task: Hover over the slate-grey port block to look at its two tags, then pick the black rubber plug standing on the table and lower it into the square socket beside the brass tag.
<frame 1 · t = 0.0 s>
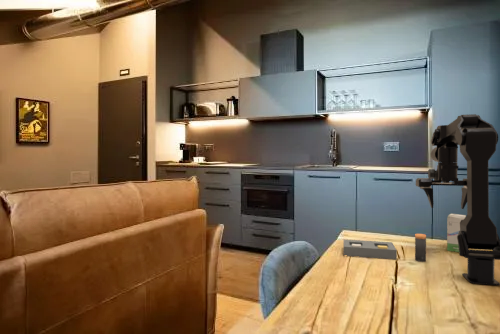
hand: (447, 208, 113), 15 cm above the table, fingers open, 9 cm apart
port block: (368, 253, 111), on the table
ink box: (456, 249, 116), on the table
plug: (420, 260, 103), on the table
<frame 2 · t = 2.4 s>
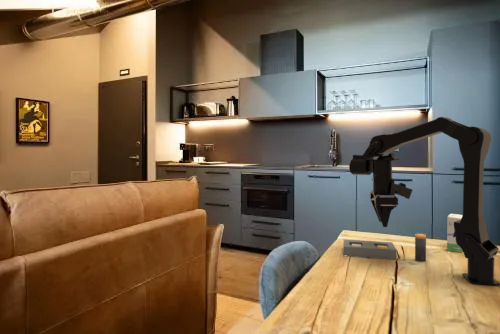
hand: (383, 224, 106), 11 cm above the table, fingers open, 9 cm apart
nothing on the table moved.
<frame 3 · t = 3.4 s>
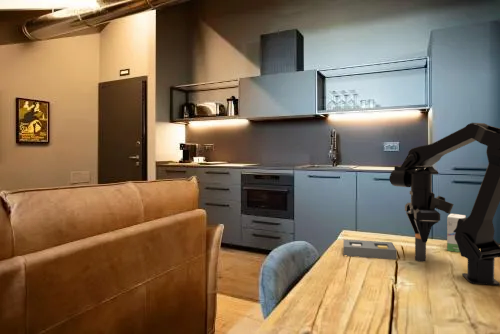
hand: (420, 238, 103), 7 cm above the table, fingers open, 9 cm apart
nothing on the table moved.
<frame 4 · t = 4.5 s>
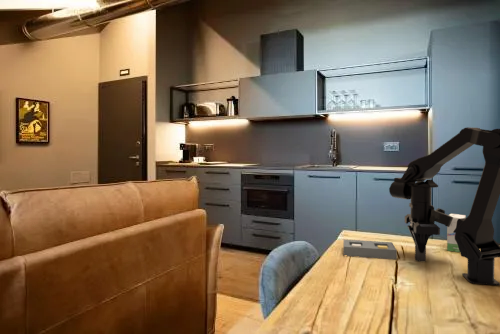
hand: (420, 251, 103), 3 cm above the table, fingers closed on plug, 3 cm apart
plug: (420, 260, 103), on the table, touching gripper
everything else where it was.
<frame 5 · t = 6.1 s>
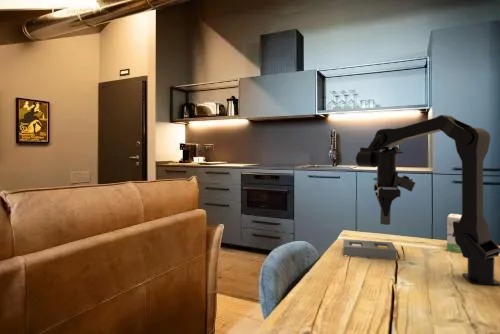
hand: (385, 215, 109), 13 cm above the table, fingers closed on plug, 3 cm apart
plug: (385, 223, 110), point 10 cm above the table, touching gripper
everything else where it was.
when the fingers open (5 cm above the table, at t = 7.7 s): plug drops 1 cm, resting on port block.
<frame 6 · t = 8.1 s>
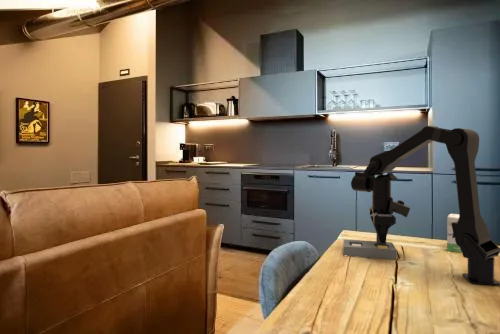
hand: (381, 240, 110), 5 cm above the table, fingers open, 7 cm apart
plug: (381, 252, 110), point 1 cm above the table, touching port block
everything else where it was.
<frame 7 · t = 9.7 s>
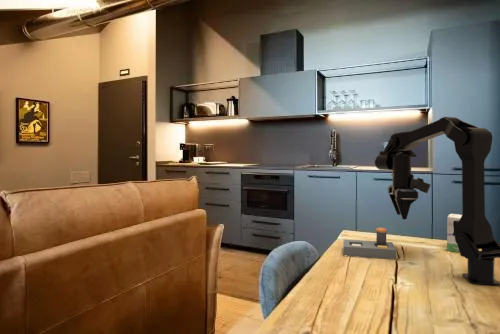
hand: (401, 216, 112), 12 cm above the table, fingers open, 9 cm apart
nothing on the table moved.
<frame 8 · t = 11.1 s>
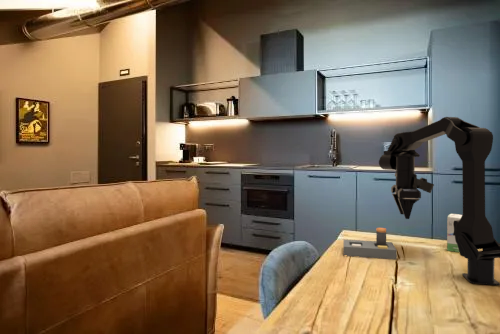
hand: (404, 216, 113), 12 cm above the table, fingers open, 9 cm apart
nothing on the table moved.
at the end: plug 0.0 cm from the target spot on the port block, point 0.5 cm above the port block's base; plug tilted 1°; the gripper is holding nothing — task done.
